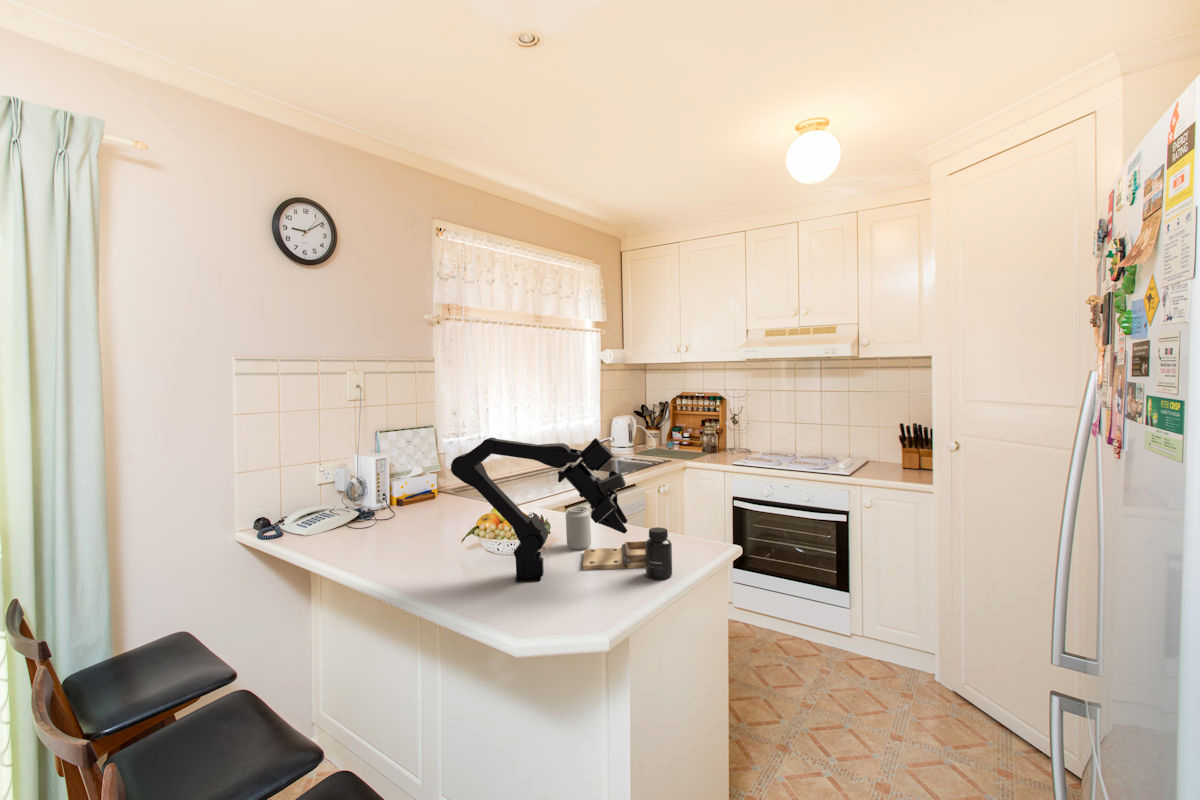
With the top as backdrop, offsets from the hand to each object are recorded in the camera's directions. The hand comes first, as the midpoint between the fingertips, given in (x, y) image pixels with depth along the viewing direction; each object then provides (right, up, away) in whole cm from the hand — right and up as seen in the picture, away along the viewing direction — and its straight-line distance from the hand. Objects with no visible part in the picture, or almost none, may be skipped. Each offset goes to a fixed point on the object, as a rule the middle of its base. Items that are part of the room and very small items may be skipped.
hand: (626, 527), depth 137 cm
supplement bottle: (+9, -13, 0) cm, 15 cm away
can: (-13, -13, +26) cm, 32 cm away
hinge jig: (+1, -12, +13) cm, 18 cm away
